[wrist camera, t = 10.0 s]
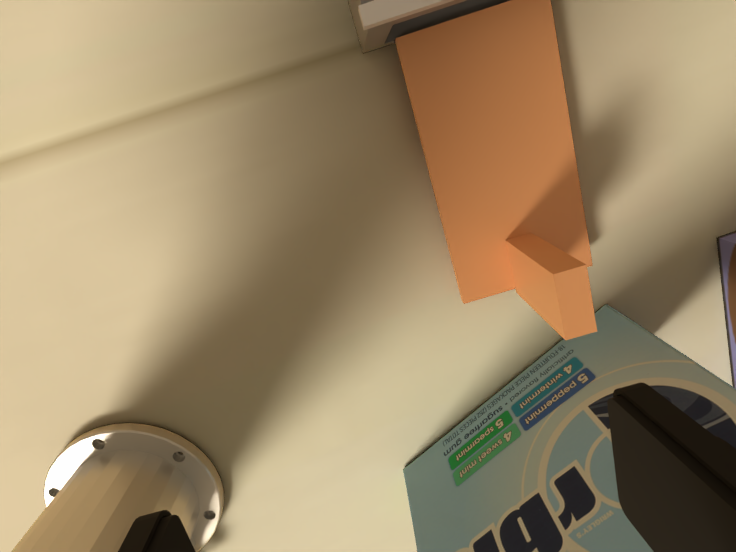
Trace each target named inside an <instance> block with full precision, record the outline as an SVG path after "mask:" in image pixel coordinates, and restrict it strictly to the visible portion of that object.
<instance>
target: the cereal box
mask: <svg viewBox="0 0 736 552" xmlns="http://www.w3.org/2000/svg"><path fill="white" fill-rule="evenodd" d="M717 247H718V256H719V265H720V274H721V283H722V292H723V301H724V310H725V320H726V329H727V338H728V347H729V356H730V365H731V374H732V383H733V387H734V388H735V389H736V231H735V232H732V233H729V234H726V235H723V236H720V237H717Z"/></svg>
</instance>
